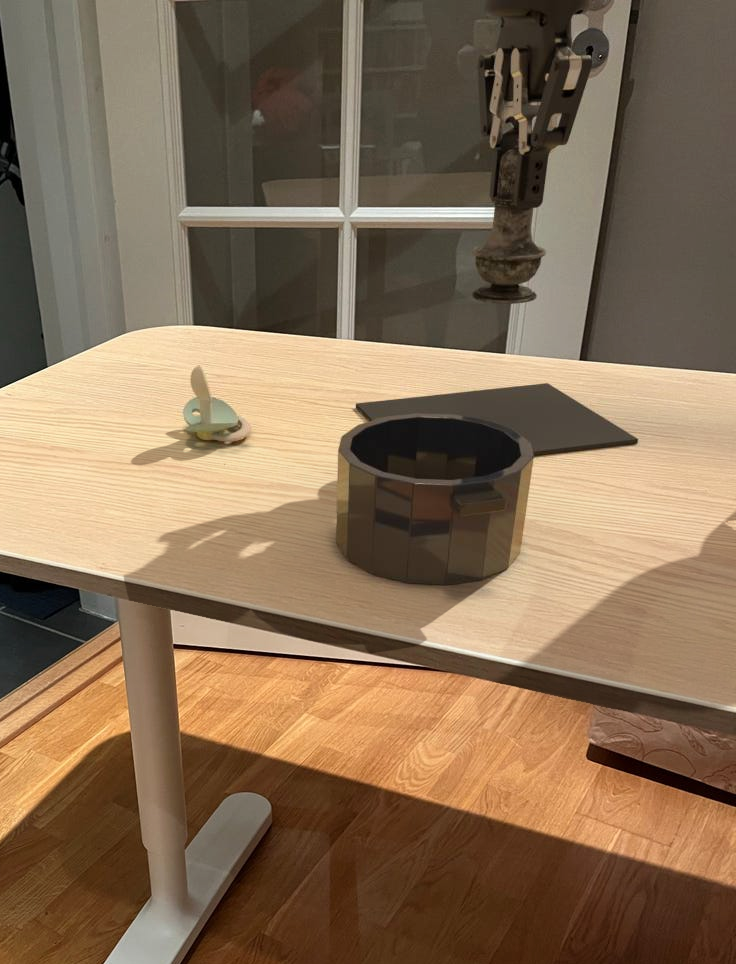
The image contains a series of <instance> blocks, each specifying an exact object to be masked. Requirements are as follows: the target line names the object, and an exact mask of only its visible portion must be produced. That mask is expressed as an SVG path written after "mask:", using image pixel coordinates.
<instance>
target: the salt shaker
mask: <svg viewBox="0 0 736 964" xmlns="http://www.w3.org/2000/svg"><path fill="white" fill-rule="evenodd" d="M517 141H518V146H515V148H514V149H511V150H509V151H507V152H506V153H505V154H504V155H503V156H502V158H501V161H500V170H499V180H498V190H497V196H496V197H494V198H493V199H490V200H491V202H492V203H493V204H494V210H493V219H492V227H491V232H490V234H489V238H488V240H487V241H486V242H485V243H483V244H482V245H478V246H476V247H474V248H473V249H472V251H471V252H472V254H473V255H474V256H475V260H474V261H475V262H474V263H475V267H476V271H477V274H478V275H479V276H480V277H481V279H482V280H483V281H484V282H487V283H489V284H485V285H482V286H480V287H477V289H475V290H474V291H472V293H471V297H472V298H473V299H475V300H476V301H480V302H483V303H484V302H485V303H490V304H499V305H502V304H503V305H509V304H510V305H515V304H523V303H524V304H525V303H529V302H532V301H534V300H536V299H537V297H538V294H537V293H536V292H535V291H533V290H532V288H530V287H528V286H525V285H522V284H524V283H527V282H529V281H530V280H531V279H533V277H534V276H535V275H536V274H537V273H538V270H539V268H540V266H541V263H542V258H543V257H545V256H546V254H547V250H546V249H545V248H543V247H541V246H538V245H537V244H536V243H535V242H534V241H533V233H532V224H533V217H534V216H533V215H534V208H525V209H520V208H517V207H515V206H514V205H513V193H514V184H515V175H516V166H517V157H518V155H523V154H520V152H519V139H518V140H517Z"/></svg>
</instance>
